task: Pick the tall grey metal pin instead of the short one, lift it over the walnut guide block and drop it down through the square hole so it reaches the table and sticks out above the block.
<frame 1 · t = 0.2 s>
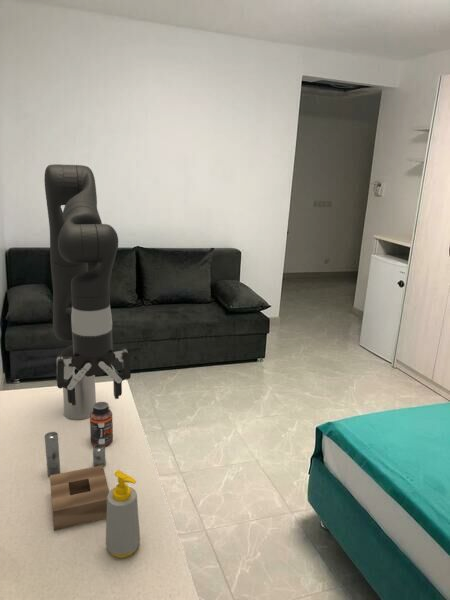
hand: (95, 400, 99), 29 cm above the table, tool pointing down, fingers open, 8 cm apart
guide block: (80, 504, 111), on the table
supplement bottle: (102, 442, 134), on the table
short pin: (99, 465, 124), on the table
soap bottle: (123, 547, 100), on the table
tall pin: (54, 473, 120), on the table
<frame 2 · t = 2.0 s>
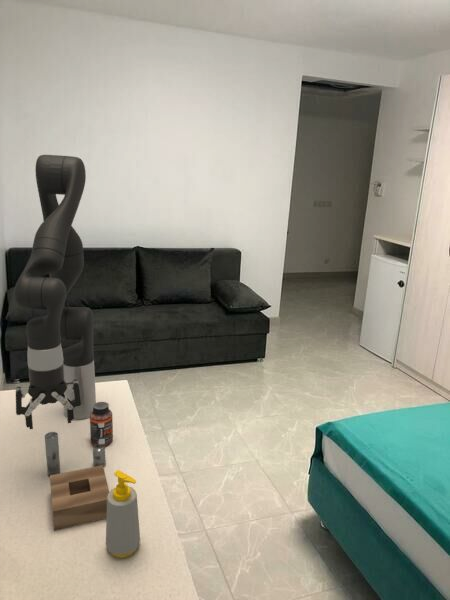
hand: (50, 424, 116), 14 cm above the table, tool pointing down, fingers open, 8 cm apart
nothing on the table moved.
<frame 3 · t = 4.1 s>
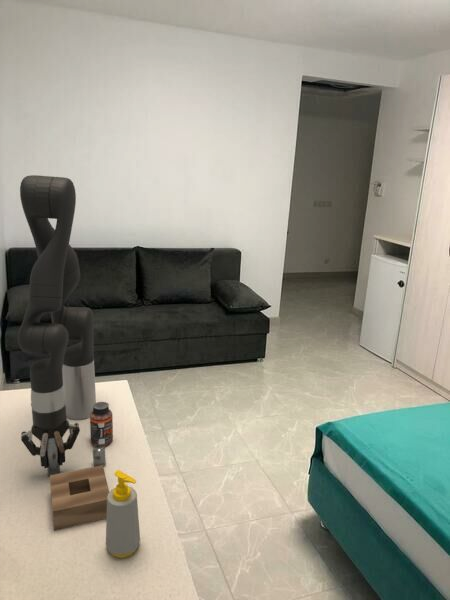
hand: (53, 464, 119), 3 cm above the table, tool pointing down, fingers closed on tall pin, 3 cm apart
tall pin: (54, 473, 120), on the table, touching gripper
everything else where it was.
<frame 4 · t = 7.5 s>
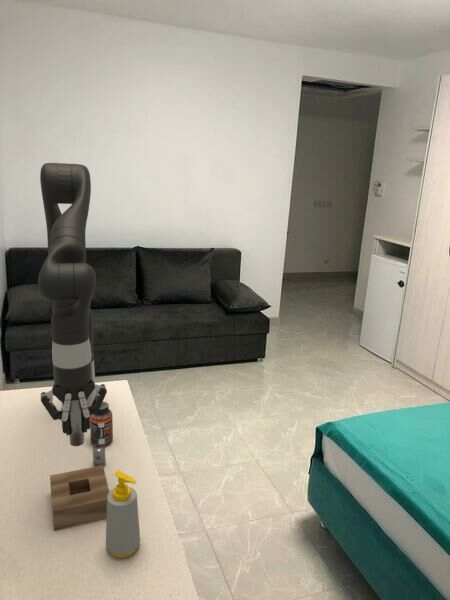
hand: (76, 431, 105), 19 cm above the table, tool pointing down, fingers closed on tall pin, 3 cm apart
tall pin: (77, 442, 105), point 17 cm above the table, touching gripper
everything else where it was.
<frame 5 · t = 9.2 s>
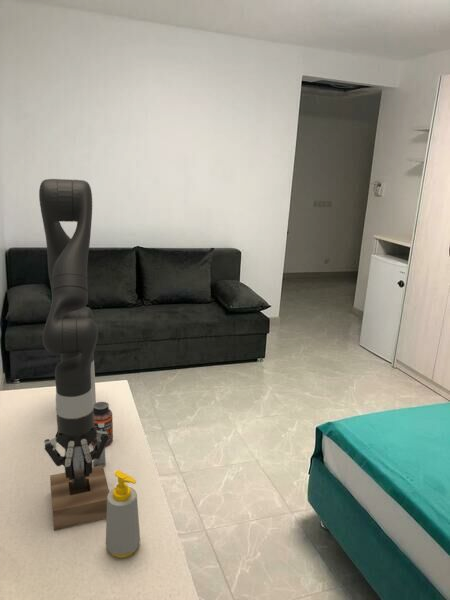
hand: (78, 475, 108), 8 cm above the table, tool pointing down, fingers closed on tall pin, 3 cm apart
tall pin: (79, 485, 109), point 5 cm above the table, touching gripper
everything else where it was.
when the fingers open (6 cm above the table, at t = 10.8 s): tall pin drops 3 cm, resting in guide block.
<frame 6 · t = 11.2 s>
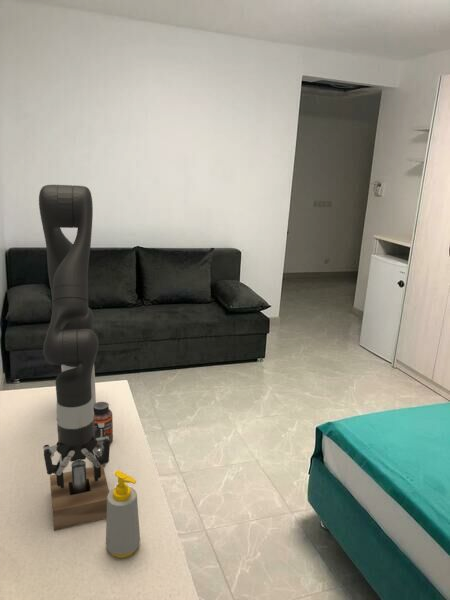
hand: (79, 482, 109), 6 cm above the table, tool pointing down, fingers open, 6 cm apart
tall pin: (80, 504, 111), resting in guide block
everything else where it was.
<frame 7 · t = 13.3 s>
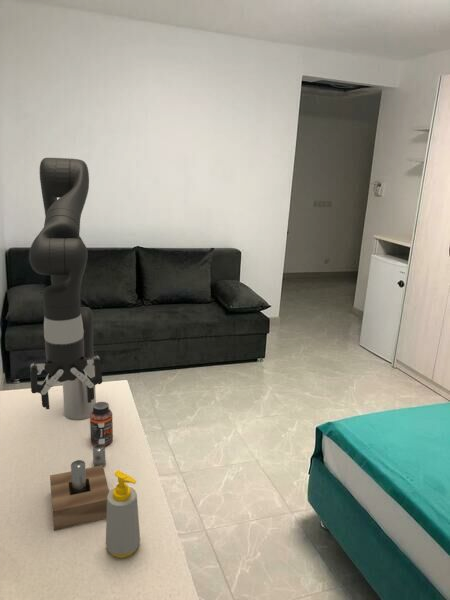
hand: (68, 404, 104), 25 cm above the table, tool pointing down, fingers open, 8 cm apart
nothing on the table moved.
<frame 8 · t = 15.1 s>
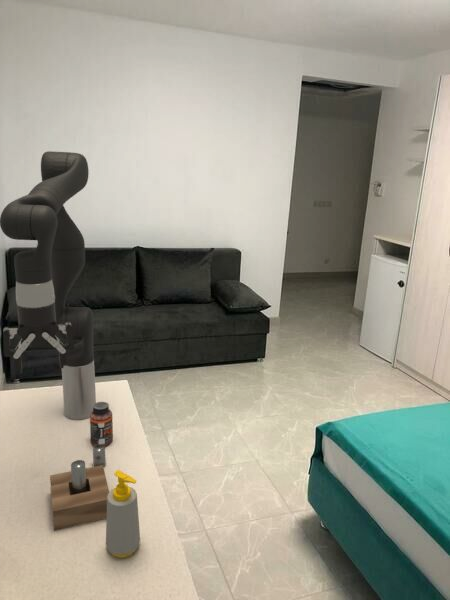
hand: (41, 369, 108), 30 cm above the table, tool pointing down, fingers open, 8 cm apart
nothing on the table moved.
at the end: tall pin 0.0 cm from the guide block (horizontally); tall pin resting in guide block; short pin moved 0.0 cm from its start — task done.
